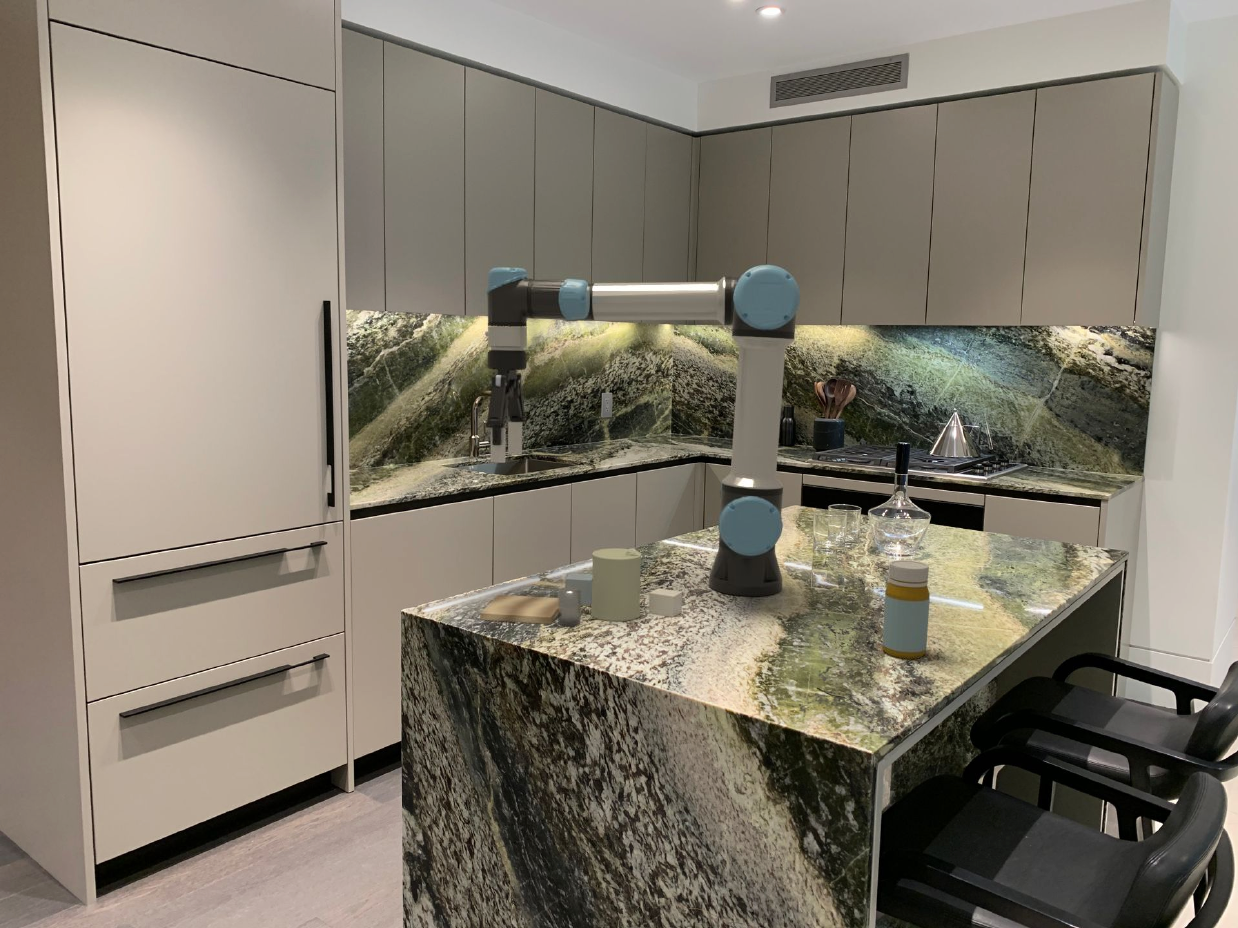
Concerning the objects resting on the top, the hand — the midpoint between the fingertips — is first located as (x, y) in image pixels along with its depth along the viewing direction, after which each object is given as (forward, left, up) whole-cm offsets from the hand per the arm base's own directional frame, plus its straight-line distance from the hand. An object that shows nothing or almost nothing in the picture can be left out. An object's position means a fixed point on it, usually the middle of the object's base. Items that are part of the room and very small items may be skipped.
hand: (506, 458), depth 189 cm
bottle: (-74, +24, -27) cm, 82 cm away
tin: (-16, +18, -27) cm, 36 cm away
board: (-7, +13, -27) cm, 31 cm away
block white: (-33, +8, -27) cm, 43 cm away
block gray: (-16, +4, -27) cm, 31 cm away
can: (-24, +11, -27) cm, 38 cm away
